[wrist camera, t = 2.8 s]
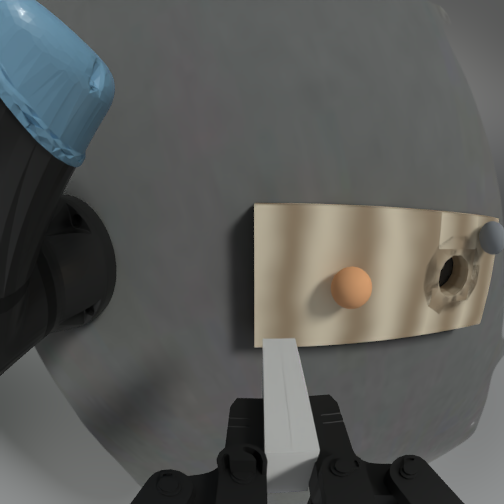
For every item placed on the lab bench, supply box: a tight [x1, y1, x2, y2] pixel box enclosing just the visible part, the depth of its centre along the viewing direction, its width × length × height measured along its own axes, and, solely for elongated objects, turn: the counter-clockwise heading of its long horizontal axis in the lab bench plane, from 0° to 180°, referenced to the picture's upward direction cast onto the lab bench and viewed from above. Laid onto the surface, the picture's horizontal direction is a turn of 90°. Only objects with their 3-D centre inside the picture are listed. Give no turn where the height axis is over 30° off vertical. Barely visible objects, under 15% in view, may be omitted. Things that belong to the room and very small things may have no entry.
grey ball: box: [479, 221, 504, 255], centre depth 21 cm, size 4×4×4 cm
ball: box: [331, 267, 372, 309], centre depth 22 cm, size 4×4×4 cm
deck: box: [254, 203, 499, 347], centre depth 25 cm, size 28×13×3 cm, turn 90°
